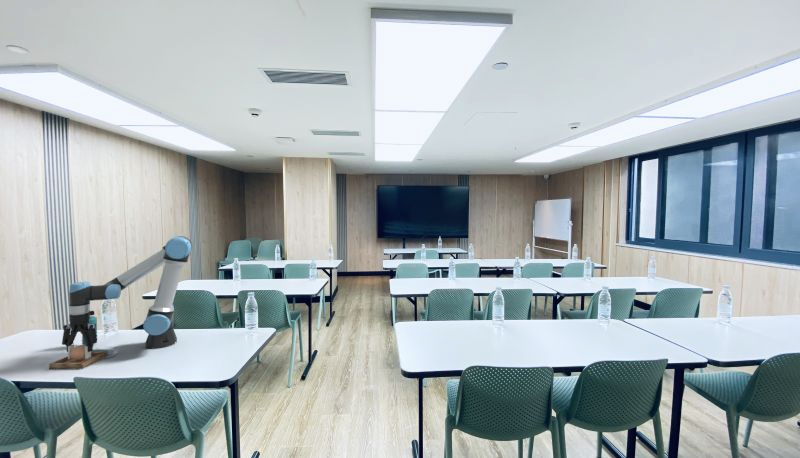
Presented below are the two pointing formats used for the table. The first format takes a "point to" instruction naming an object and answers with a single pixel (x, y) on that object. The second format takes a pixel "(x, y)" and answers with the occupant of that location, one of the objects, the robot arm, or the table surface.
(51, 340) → the table surface
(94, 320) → the beverage bottle
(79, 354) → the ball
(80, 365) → the walnut tray
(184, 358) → the table surface
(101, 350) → the acrylic divider
